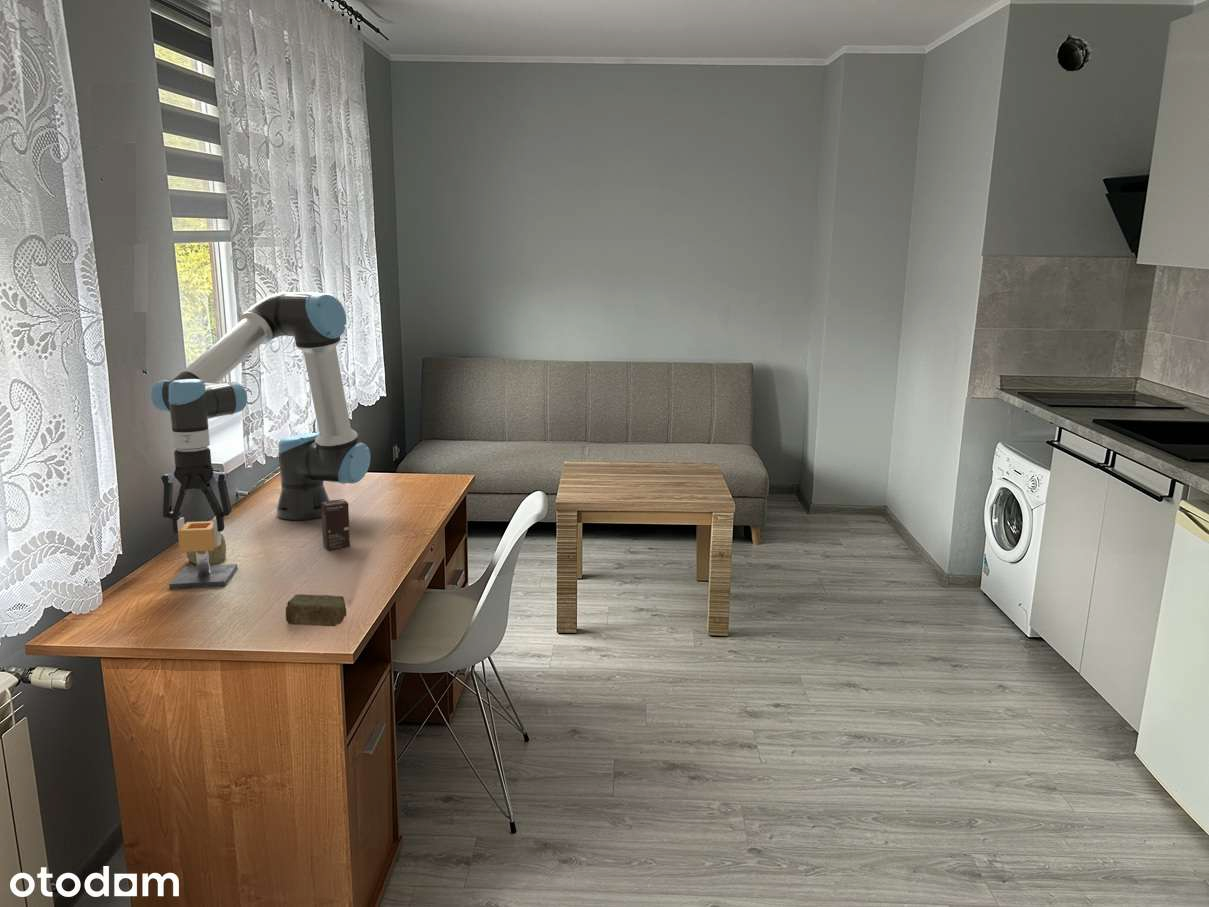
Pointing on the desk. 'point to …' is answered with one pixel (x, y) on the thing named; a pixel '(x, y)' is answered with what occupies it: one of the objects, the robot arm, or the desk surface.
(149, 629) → the desk surface
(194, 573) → the keeper
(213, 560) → the decorative item
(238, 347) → the robot arm
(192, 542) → the tan square-hole block
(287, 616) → the stone block
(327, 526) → the box
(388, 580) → the desk surface
